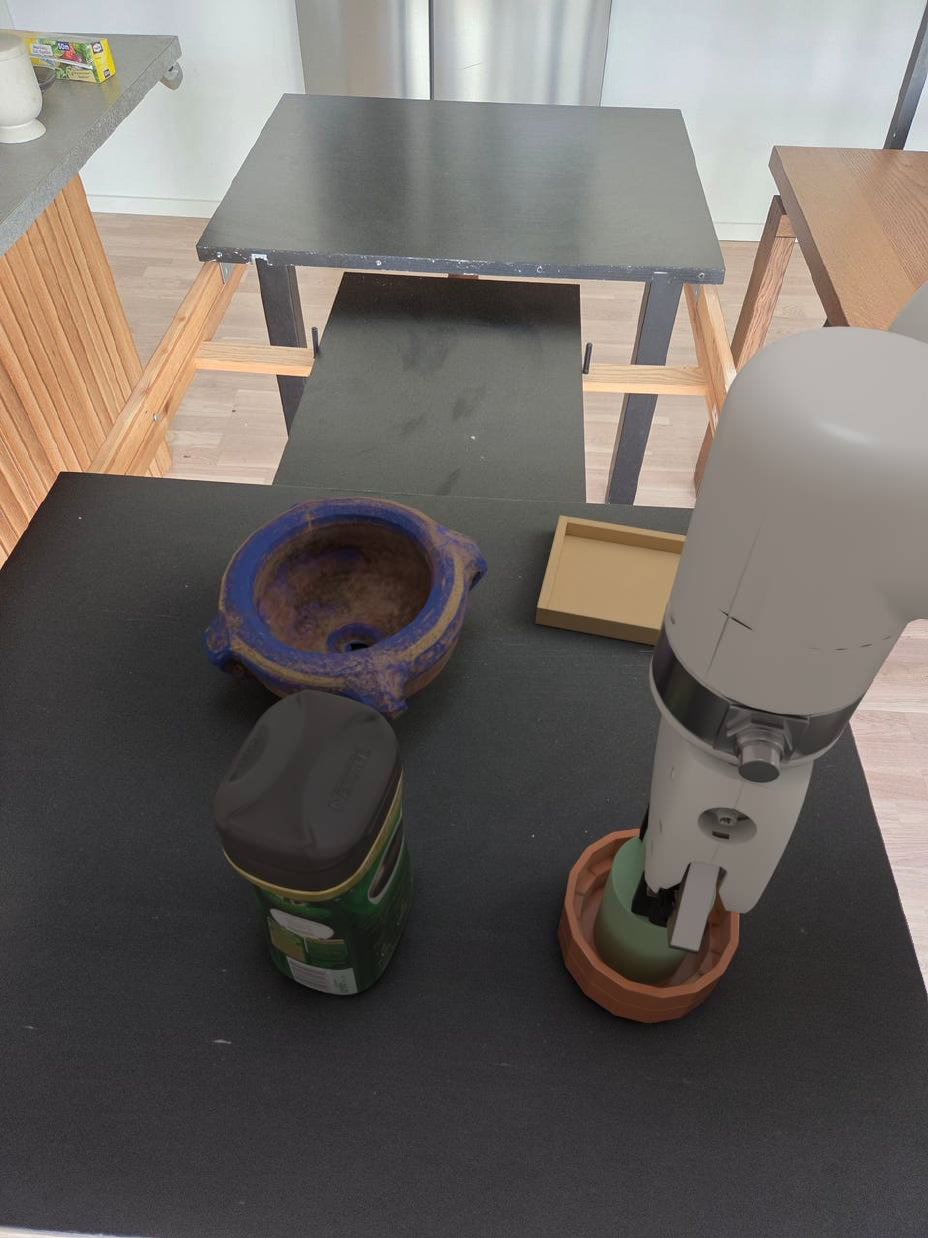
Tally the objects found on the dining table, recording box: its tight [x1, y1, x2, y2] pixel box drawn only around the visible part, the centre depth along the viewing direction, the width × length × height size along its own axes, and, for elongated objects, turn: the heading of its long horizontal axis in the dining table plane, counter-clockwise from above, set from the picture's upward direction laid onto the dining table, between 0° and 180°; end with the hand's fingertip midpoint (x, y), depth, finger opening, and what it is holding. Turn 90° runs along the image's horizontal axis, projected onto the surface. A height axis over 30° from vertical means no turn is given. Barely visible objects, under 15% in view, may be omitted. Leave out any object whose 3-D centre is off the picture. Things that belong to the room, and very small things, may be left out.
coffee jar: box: [212, 689, 416, 996], centre depth 46 cm, size 10×8×19 cm
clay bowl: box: [557, 827, 740, 1024], centre depth 50 cm, size 10×10×5 cm
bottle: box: [593, 828, 716, 984], centre depth 47 cm, size 6×6×12 cm
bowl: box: [201, 496, 488, 723], centre depth 63 cm, size 18×18×10 cm
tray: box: [534, 515, 686, 646], centre depth 71 cm, size 16×12×2 cm
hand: (664, 876), depth 45 cm, fingers closed on bottle, 3 cm apart
